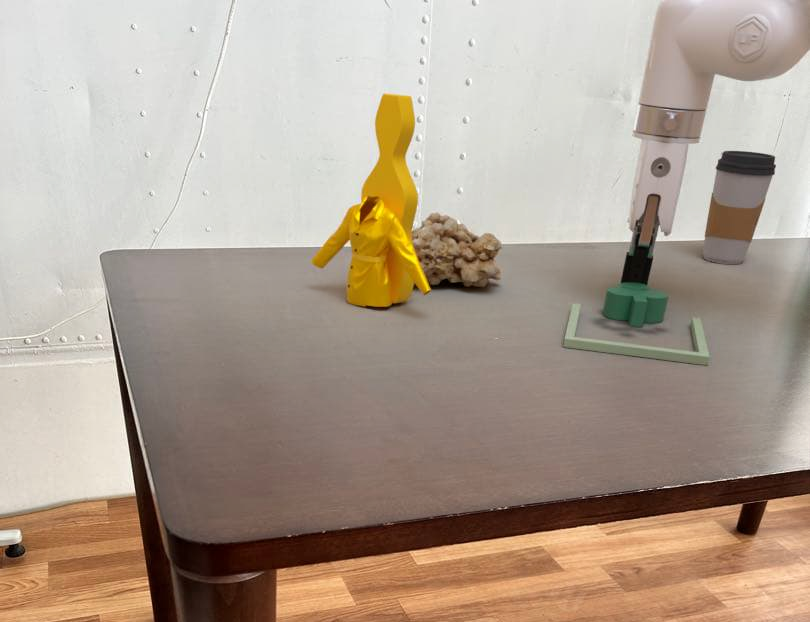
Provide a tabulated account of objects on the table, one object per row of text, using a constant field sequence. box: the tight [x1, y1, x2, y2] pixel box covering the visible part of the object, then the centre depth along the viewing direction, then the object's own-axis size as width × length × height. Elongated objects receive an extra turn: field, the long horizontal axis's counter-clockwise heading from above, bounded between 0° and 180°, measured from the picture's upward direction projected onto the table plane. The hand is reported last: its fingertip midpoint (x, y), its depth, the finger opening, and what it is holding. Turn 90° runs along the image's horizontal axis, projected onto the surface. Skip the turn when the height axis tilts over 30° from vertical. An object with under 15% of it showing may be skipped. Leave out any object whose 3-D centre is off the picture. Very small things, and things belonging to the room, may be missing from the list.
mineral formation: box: [412, 212, 503, 288], centre depth 107 cm, size 8×13×15 cm
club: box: [602, 282, 669, 328], centre depth 98 cm, size 8×7×3 cm
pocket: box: [562, 303, 710, 366], centre depth 92 cm, size 14×15×1 cm
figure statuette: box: [310, 93, 432, 308], centre depth 92 cm, size 18×8×22 cm, turn 53°
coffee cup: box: [701, 150, 777, 265], centre depth 123 cm, size 8×8×15 cm
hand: (633, 287), depth 102 cm, fingers closed
